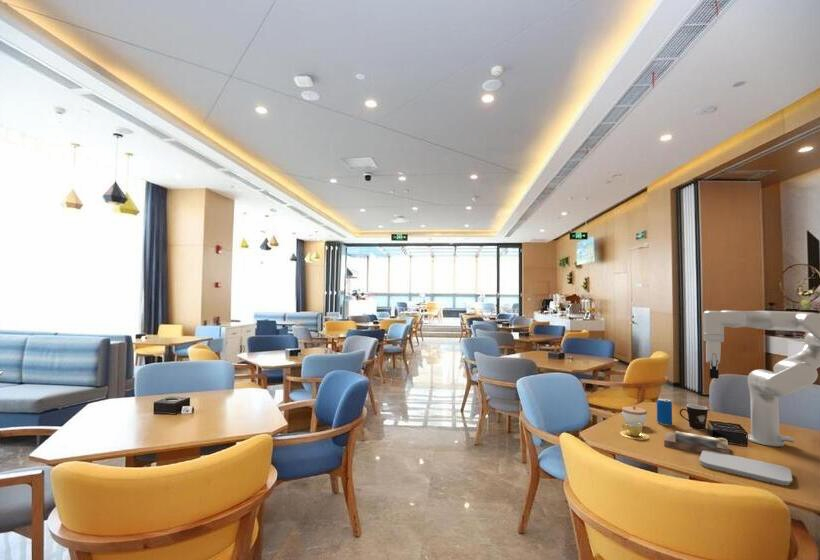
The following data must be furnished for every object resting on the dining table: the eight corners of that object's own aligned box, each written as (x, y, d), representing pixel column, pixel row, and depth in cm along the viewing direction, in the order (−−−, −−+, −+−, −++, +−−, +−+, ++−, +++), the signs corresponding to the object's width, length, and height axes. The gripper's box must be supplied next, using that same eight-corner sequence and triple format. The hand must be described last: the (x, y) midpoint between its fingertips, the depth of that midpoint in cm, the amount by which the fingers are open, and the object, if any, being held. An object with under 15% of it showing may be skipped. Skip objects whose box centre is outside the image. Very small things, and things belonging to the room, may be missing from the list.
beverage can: (674, 426, 199) (674, 401, 199) (660, 425, 200) (659, 400, 201) (668, 422, 205) (668, 398, 206) (654, 421, 206) (654, 397, 207)
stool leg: (727, 447, 164) (727, 438, 164) (727, 449, 162) (727, 440, 162) (675, 437, 174) (675, 429, 175) (675, 439, 172) (675, 431, 172)
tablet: (702, 454, 165) (702, 448, 165) (790, 473, 148) (790, 467, 148) (698, 467, 152) (698, 461, 152) (793, 489, 135) (792, 482, 135)
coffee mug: (707, 426, 199) (707, 406, 199) (709, 431, 191) (708, 410, 192) (679, 422, 205) (678, 402, 205) (679, 427, 198) (679, 406, 198)
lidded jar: (621, 426, 198) (621, 406, 198) (622, 420, 207) (622, 402, 208) (646, 430, 193) (646, 410, 193) (647, 424, 202) (646, 405, 202)
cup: (652, 435, 186) (652, 423, 186) (646, 442, 177) (645, 430, 177) (623, 429, 194) (623, 418, 194) (616, 436, 185) (616, 424, 185)
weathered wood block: (727, 448, 170) (727, 435, 171) (729, 458, 160) (729, 444, 160) (666, 437, 183) (666, 424, 183) (664, 445, 172) (664, 433, 173)
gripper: (703, 335, 193) (703, 374, 192) (703, 338, 180) (704, 379, 180) (723, 337, 188) (723, 376, 188) (724, 339, 176) (725, 382, 176)
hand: (714, 377), depth 184 cm, fingers closed
